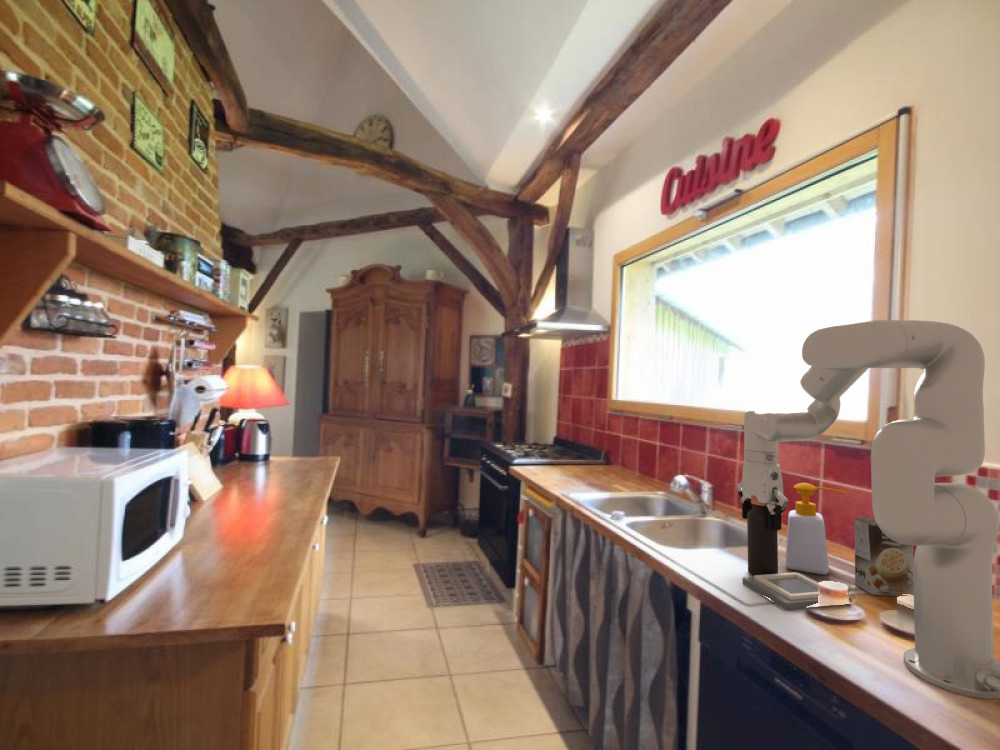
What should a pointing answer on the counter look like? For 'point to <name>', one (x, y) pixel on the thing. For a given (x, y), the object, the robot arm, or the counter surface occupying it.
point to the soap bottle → (807, 534)
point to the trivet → (786, 589)
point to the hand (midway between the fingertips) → (760, 523)
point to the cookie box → (881, 561)
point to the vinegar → (761, 541)
